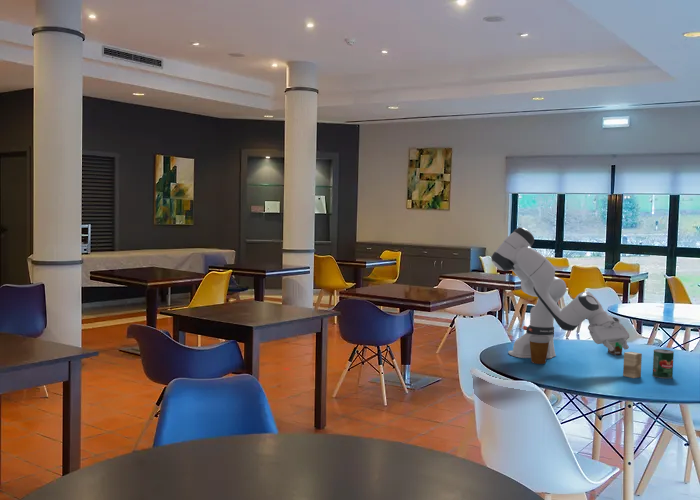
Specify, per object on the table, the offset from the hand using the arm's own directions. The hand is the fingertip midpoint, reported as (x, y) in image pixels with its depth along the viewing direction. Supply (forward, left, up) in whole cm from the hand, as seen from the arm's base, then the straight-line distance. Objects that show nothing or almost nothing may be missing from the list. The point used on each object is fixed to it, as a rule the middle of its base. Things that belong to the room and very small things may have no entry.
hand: (619, 349), depth 298 cm
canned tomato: (+16, -7, -11) cm, 21 cm away
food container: (+28, +43, -11) cm, 52 cm away
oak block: (+3, -5, -11) cm, 12 cm away
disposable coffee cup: (-24, +26, -11) cm, 37 cm away
